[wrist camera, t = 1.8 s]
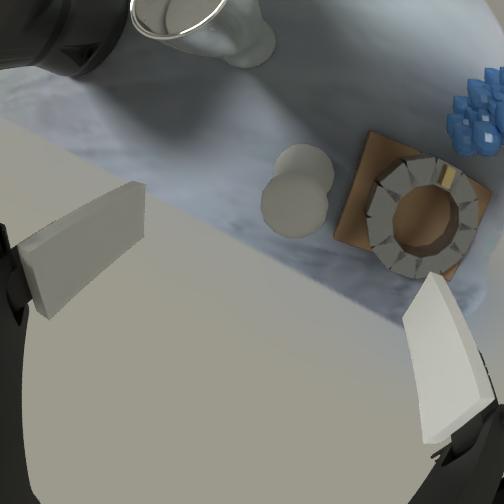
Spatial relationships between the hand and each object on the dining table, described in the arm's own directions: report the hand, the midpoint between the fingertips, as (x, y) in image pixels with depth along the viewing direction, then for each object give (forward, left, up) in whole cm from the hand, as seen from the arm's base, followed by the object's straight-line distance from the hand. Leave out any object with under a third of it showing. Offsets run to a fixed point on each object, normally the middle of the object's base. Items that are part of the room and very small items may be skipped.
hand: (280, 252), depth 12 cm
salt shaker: (0, 0, -19) cm, 19 cm away
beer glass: (-9, +12, -19) cm, 24 cm away
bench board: (+13, 0, -19) cm, 23 cm away
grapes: (+15, +12, -19) cm, 27 cm away
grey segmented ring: (+13, 0, -17) cm, 22 cm away
